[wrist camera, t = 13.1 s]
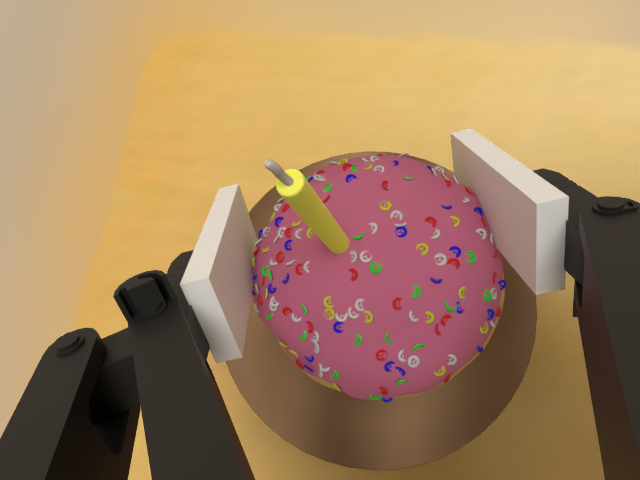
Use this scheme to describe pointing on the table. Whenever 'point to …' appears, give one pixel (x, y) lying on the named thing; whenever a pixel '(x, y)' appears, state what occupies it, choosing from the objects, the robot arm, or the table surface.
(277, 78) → the table surface
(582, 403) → the table surface
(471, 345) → the cupcake
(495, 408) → the brown plate
